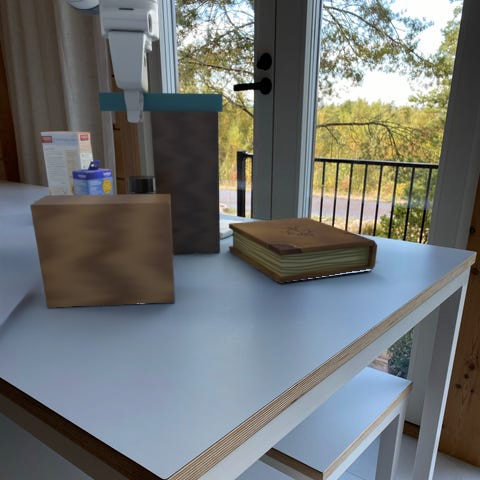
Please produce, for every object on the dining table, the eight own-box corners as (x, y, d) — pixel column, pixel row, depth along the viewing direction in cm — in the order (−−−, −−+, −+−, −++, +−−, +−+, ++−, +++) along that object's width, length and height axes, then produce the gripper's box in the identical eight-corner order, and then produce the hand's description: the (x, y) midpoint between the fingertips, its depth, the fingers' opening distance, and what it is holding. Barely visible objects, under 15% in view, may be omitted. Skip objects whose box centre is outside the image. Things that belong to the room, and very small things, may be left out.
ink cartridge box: (92, 220, 124) (85, 162, 118) (76, 218, 126) (68, 161, 120) (116, 214, 132) (111, 159, 126) (101, 212, 134) (95, 158, 128)
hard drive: (248, 229, 116) (222, 239, 106) (220, 225, 119) (192, 235, 109) (249, 222, 115) (222, 232, 105) (220, 219, 119) (192, 228, 109)
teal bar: (100, 110, 85) (98, 92, 83) (102, 111, 87) (100, 93, 86) (222, 111, 87) (222, 93, 86) (221, 111, 90) (221, 94, 89)
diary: (374, 272, 84) (378, 240, 81) (279, 284, 77) (281, 250, 75) (308, 242, 103) (310, 216, 101) (228, 250, 97) (228, 222, 94)
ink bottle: (146, 234, 110) (143, 180, 105) (118, 229, 114) (113, 178, 109) (172, 226, 118) (170, 176, 113) (145, 222, 122) (141, 174, 117)
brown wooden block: (47, 308, 67) (29, 204, 61) (59, 289, 74) (45, 195, 69) (174, 303, 69) (169, 202, 64) (174, 285, 77) (170, 193, 71)
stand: (159, 254, 94) (150, 111, 83) (160, 244, 101) (152, 111, 91) (220, 253, 95) (218, 111, 85) (216, 243, 102) (214, 112, 92)
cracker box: (98, 203, 148) (90, 131, 139) (85, 206, 142) (76, 132, 134) (64, 200, 153) (54, 130, 145) (50, 203, 148) (39, 131, 139)
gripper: (116, 35, 82) (122, 121, 88) (100, 11, 64) (109, 122, 69) (153, 36, 83) (157, 121, 89) (147, 13, 65) (153, 123, 70)
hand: (136, 122), depth 79 cm, fingers open, 8 cm apart
